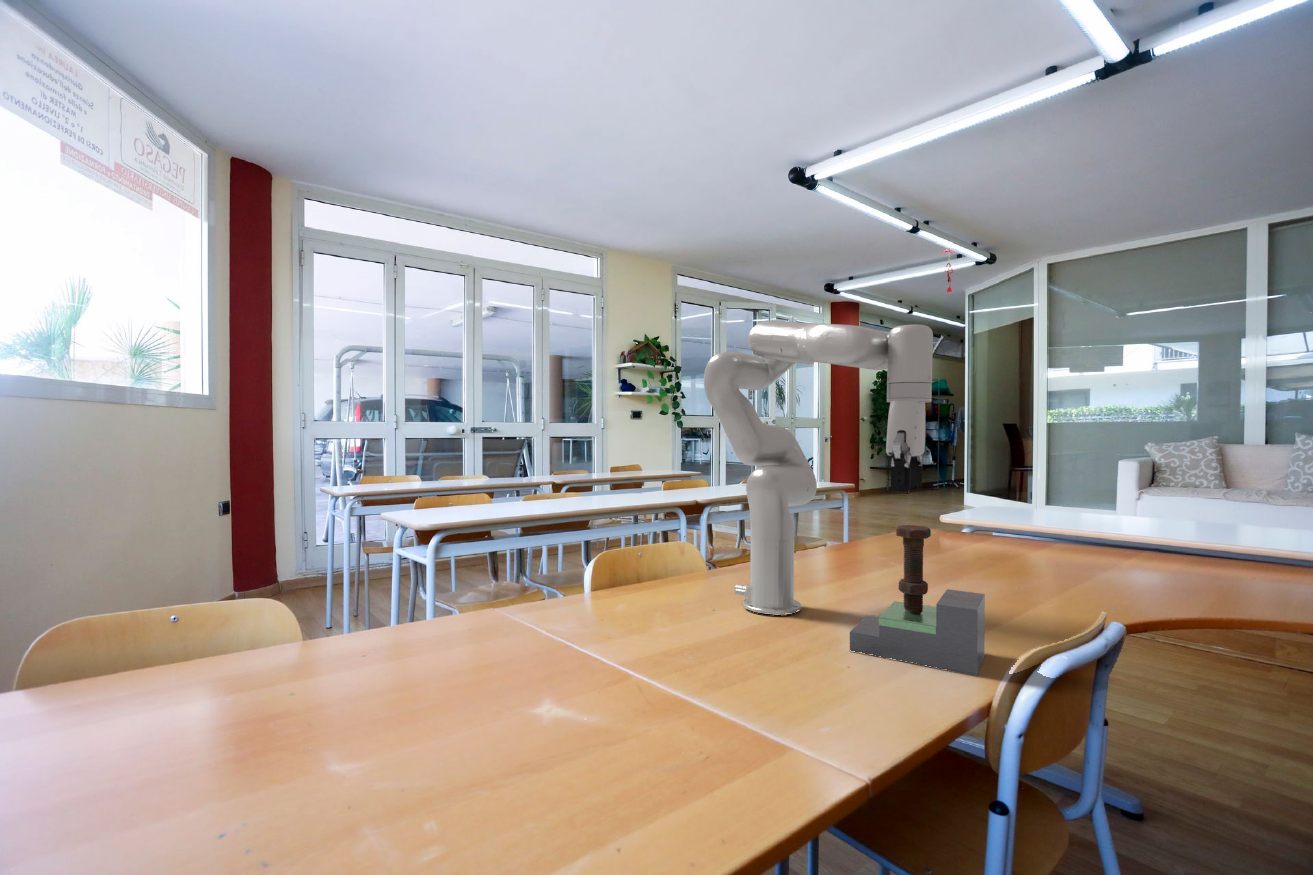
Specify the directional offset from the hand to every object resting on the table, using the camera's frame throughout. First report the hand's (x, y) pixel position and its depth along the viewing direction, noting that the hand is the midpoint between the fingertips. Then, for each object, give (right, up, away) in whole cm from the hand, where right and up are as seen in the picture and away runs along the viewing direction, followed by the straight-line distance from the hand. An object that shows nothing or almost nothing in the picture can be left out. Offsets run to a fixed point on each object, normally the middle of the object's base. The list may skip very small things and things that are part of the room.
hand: (906, 488), depth 110 cm
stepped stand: (0, -29, -4) cm, 29 cm away
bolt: (0, -22, -3) cm, 22 cm away
